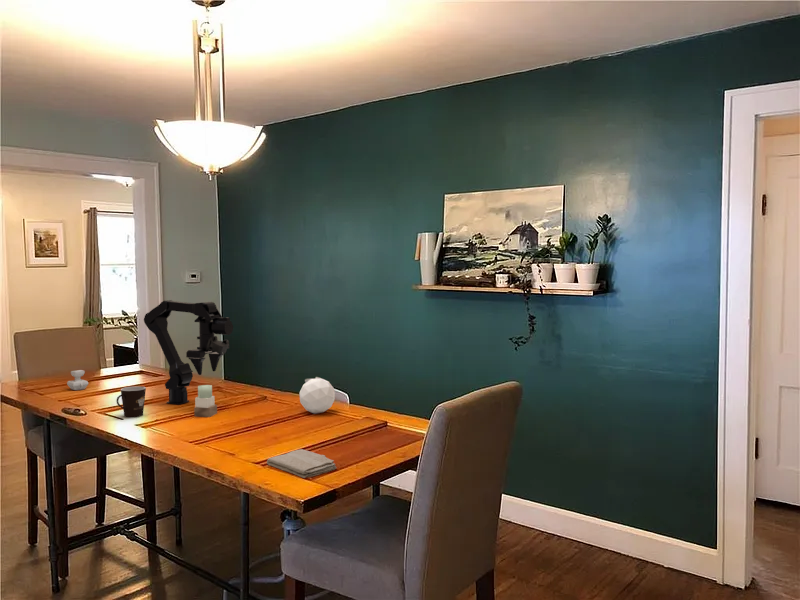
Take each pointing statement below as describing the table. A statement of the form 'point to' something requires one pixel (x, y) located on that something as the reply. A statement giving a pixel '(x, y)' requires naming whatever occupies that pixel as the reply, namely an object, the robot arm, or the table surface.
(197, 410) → the tower base block
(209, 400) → the tower top block
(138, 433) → the table surface
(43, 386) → the table surface
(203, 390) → the grey domed cylinder
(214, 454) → the table surface
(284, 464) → the washcloth
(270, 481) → the table surface
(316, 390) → the geodesic sphere
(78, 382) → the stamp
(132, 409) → the coffee mug
